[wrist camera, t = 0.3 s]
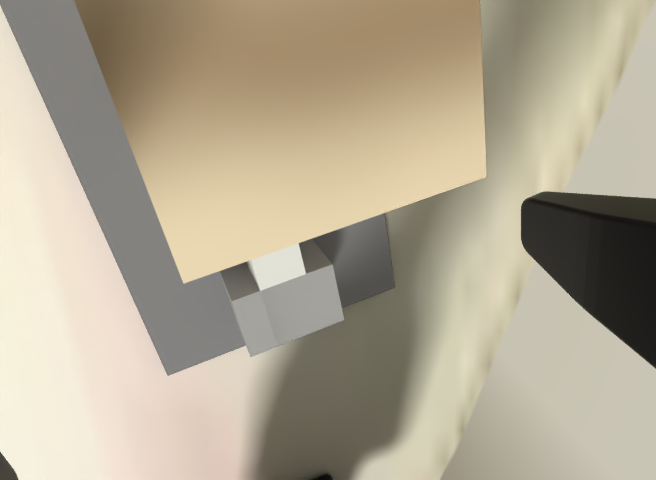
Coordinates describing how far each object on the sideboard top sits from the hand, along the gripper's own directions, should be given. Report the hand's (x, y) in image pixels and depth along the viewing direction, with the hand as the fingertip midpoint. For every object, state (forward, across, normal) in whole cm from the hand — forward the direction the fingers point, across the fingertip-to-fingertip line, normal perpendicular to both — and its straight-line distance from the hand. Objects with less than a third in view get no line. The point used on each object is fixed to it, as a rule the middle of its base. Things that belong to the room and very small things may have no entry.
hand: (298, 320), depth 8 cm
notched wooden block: (+15, -3, -2) cm, 15 cm away
